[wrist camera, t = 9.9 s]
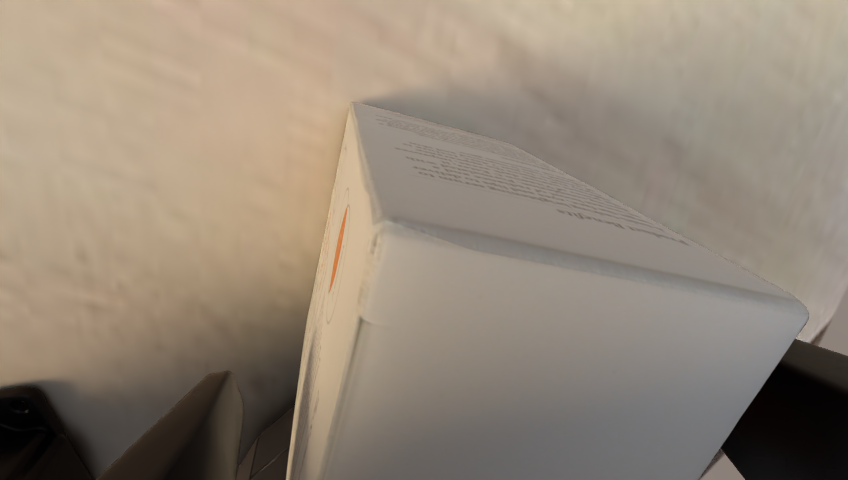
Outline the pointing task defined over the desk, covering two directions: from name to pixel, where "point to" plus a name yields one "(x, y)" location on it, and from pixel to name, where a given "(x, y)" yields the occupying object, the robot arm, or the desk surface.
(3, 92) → the desk surface
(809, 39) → the desk surface
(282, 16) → the desk surface
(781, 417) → the robot arm
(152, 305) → the desk surface
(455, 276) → the small box
